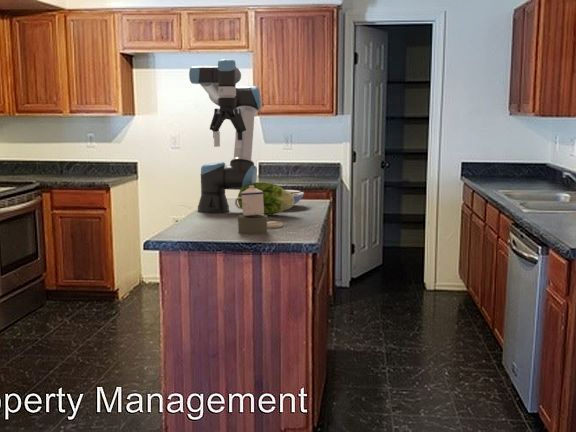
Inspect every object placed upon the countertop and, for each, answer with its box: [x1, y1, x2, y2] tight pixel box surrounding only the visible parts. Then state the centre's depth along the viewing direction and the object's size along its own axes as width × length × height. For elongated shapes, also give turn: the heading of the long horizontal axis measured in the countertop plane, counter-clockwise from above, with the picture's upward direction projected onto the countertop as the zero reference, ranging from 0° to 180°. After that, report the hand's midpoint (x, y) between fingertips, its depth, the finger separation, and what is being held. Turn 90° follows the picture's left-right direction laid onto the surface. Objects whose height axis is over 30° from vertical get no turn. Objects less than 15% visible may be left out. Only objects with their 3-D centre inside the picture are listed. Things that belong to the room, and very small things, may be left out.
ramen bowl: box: [285, 189, 307, 205], centre depth 315 cm, size 25×23×8 cm
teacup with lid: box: [234, 185, 264, 215], centre depth 249 cm, size 12×9×12 cm
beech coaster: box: [267, 220, 284, 229], centre depth 264 cm, size 10×10×1 cm
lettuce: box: [237, 182, 295, 216], centre depth 289 cm, size 15×27×16 cm, turn 82°
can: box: [237, 213, 269, 236], centre depth 250 cm, size 12×12×7 cm
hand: (227, 147), depth 267 cm, fingers open, 13 cm apart
